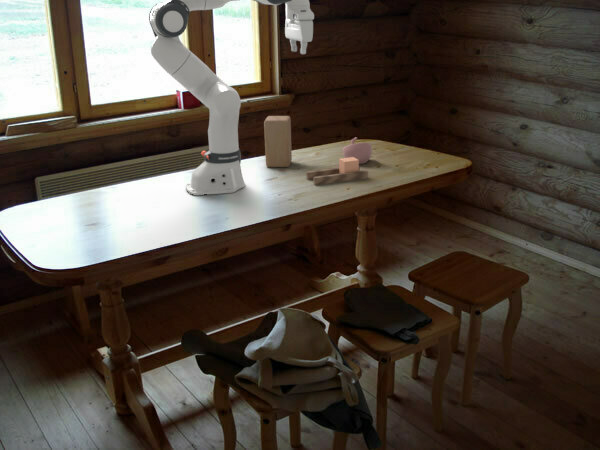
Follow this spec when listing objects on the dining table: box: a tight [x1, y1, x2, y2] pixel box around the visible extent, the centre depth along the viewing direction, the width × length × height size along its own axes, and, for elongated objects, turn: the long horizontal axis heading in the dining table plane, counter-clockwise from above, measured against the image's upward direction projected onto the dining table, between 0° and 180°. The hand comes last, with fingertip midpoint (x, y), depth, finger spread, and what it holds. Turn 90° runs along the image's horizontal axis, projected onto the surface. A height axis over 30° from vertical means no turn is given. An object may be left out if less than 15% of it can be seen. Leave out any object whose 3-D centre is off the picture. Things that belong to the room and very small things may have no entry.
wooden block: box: [263, 115, 293, 168], centre depth 271 cm, size 10×10×20 cm
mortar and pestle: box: [342, 136, 373, 165], centre depth 270 cm, size 12×12×11 cm
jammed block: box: [338, 157, 360, 174], centre depth 251 cm, size 6×5×7 cm
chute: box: [305, 165, 369, 186], centre depth 250 cm, size 22×9×4 cm, turn 110°
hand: (298, 52), depth 241 cm, fingers open, 8 cm apart
